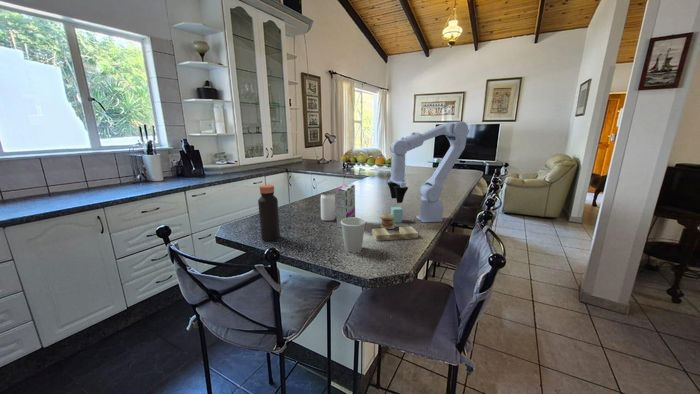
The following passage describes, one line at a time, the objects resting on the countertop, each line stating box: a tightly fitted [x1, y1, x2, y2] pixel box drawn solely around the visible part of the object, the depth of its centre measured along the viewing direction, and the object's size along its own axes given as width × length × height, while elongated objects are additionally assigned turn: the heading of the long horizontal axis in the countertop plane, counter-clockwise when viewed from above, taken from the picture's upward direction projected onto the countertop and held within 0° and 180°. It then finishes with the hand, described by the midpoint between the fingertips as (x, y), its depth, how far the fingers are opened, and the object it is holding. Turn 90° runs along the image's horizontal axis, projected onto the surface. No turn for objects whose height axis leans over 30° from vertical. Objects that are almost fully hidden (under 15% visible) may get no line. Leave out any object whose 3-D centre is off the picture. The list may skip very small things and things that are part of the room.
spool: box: [379, 213, 396, 231], centre depth 113 cm, size 6×6×5 cm
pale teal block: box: [390, 206, 403, 224], centre depth 121 cm, size 4×4×6 cm
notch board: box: [371, 226, 419, 241], centre depth 105 cm, size 16×7×2 cm, turn 99°
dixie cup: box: [341, 216, 367, 253], centre depth 92 cm, size 8×8×10 cm
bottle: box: [257, 184, 281, 242], centre depth 100 cm, size 7×7×20 cm
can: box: [320, 191, 336, 222], centre depth 123 cm, size 6×6×12 cm
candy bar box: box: [335, 183, 356, 229], centre depth 116 cm, size 11×5×16 cm, turn 161°
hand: (396, 200), depth 119 cm, fingers open, 7 cm apart
